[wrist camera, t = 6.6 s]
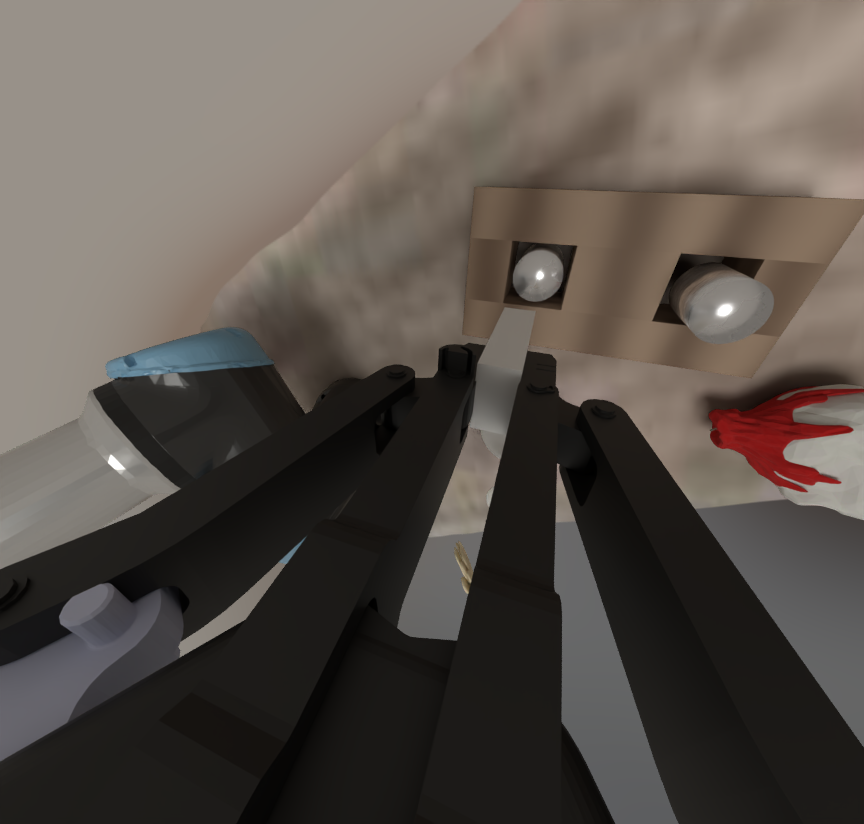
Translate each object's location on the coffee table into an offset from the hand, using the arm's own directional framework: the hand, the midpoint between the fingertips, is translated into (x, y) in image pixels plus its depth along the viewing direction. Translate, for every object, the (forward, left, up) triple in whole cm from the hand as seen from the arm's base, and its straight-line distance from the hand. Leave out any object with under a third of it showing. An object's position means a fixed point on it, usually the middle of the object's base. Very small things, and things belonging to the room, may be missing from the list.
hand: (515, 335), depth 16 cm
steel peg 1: (0, 0, -19) cm, 19 cm away
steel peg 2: (+12, 0, -14) cm, 19 cm away
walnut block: (+6, 0, -20) cm, 21 cm away
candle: (+26, -12, -20) cm, 35 cm away
